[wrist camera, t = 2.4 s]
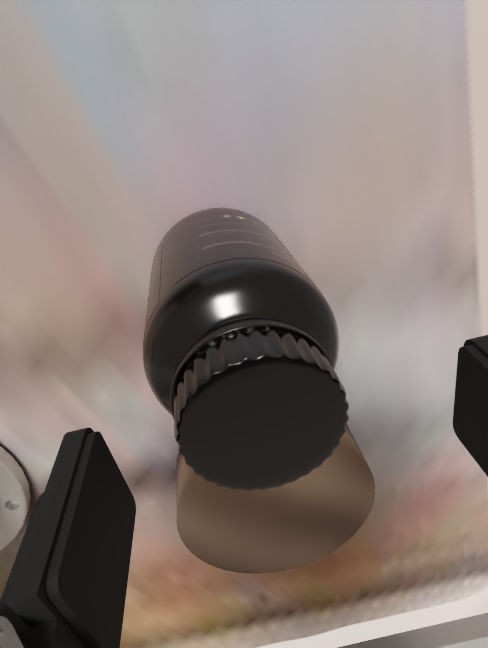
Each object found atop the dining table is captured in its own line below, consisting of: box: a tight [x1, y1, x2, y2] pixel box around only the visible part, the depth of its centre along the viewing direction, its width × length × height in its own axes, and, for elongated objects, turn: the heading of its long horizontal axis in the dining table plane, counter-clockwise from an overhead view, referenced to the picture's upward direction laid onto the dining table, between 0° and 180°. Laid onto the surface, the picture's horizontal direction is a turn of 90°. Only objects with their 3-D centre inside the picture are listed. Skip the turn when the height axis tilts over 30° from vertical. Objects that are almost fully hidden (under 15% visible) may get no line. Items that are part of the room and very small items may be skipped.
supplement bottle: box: [143, 208, 349, 491], centre depth 16 cm, size 7×7×12 cm
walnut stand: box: [177, 424, 375, 573], centre depth 27 cm, size 12×12×4 cm
